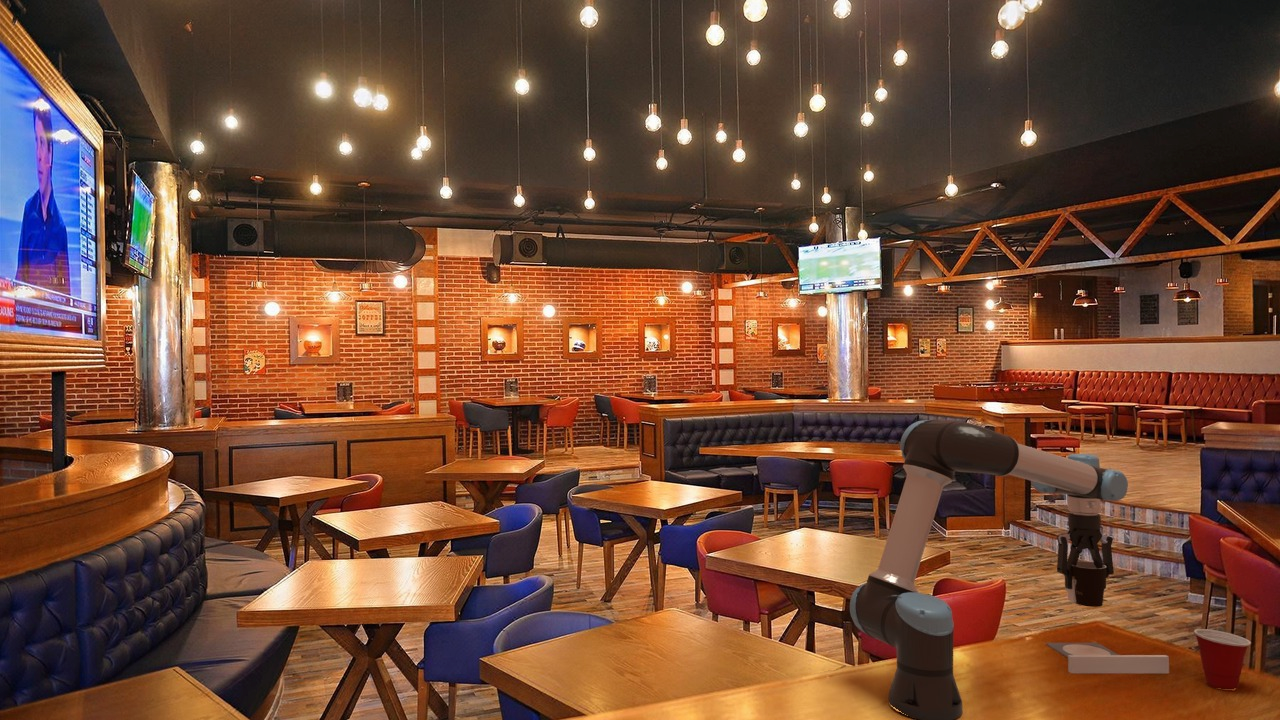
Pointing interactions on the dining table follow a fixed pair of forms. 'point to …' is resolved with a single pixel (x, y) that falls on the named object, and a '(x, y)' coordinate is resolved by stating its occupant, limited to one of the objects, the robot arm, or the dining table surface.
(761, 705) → the dining table surface
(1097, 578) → the coffee mug
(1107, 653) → the mat
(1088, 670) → the low wall
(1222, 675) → the plastic cup
